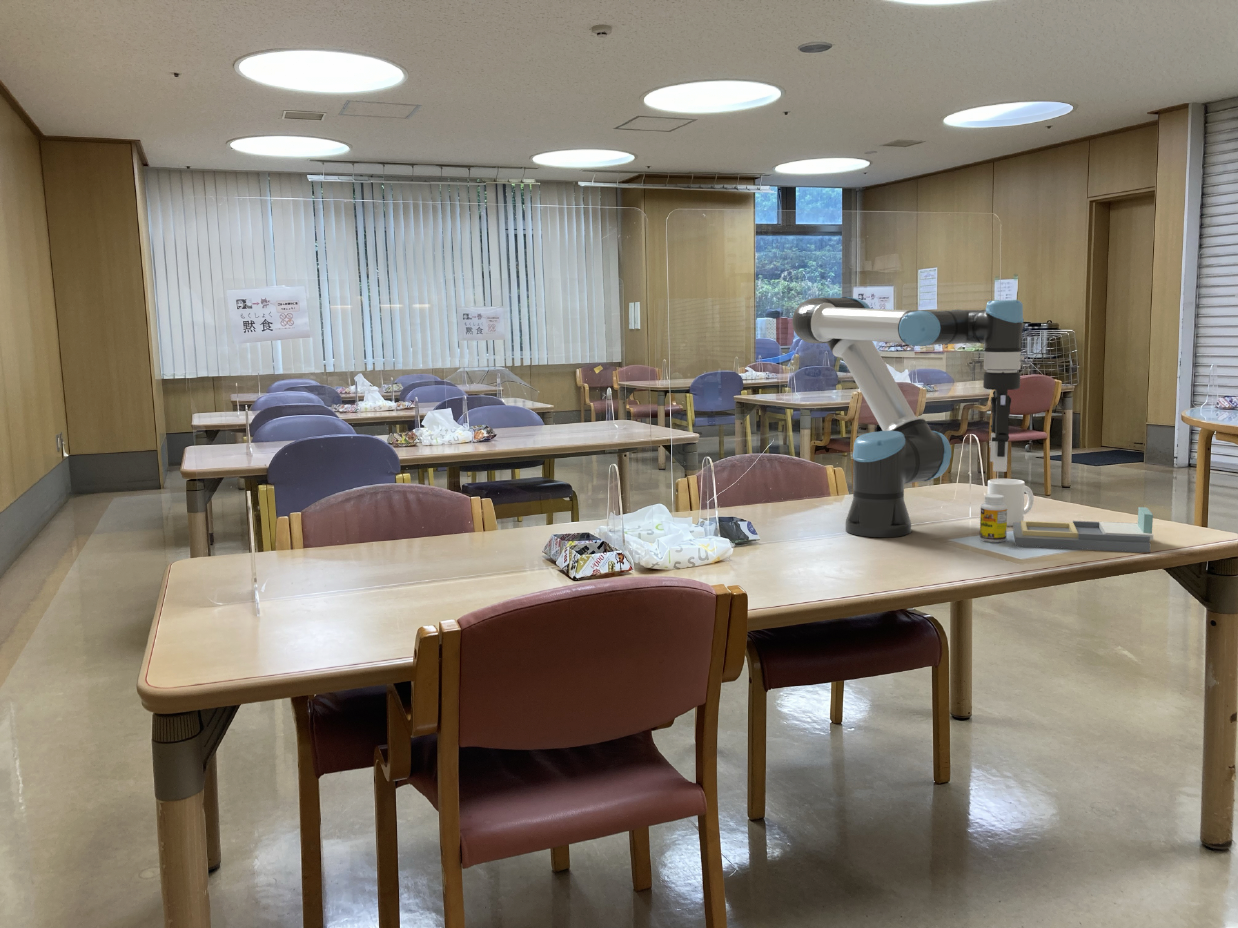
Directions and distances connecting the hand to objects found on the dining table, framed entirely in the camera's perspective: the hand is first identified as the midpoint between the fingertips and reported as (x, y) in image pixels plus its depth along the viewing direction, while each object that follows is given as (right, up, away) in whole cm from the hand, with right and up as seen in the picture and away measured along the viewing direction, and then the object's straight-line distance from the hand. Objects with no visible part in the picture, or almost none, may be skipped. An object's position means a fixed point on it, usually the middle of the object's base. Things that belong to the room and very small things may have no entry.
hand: (998, 466), depth 211 cm
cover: (+26, -15, -5) cm, 30 cm away
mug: (+11, -14, +19) cm, 26 cm away
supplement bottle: (0, -17, +2) cm, 17 cm away
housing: (+16, -17, -1) cm, 23 cm away
